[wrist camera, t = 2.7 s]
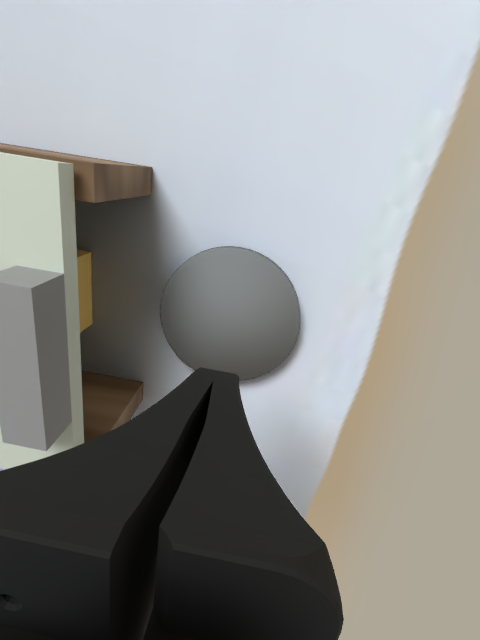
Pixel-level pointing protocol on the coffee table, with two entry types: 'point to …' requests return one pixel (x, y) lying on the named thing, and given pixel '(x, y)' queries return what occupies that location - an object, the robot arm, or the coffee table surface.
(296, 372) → the coffee table surface
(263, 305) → the coaster
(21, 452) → the lid
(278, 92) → the coffee table surface
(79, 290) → the ochre block
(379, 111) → the coffee table surface
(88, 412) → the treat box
